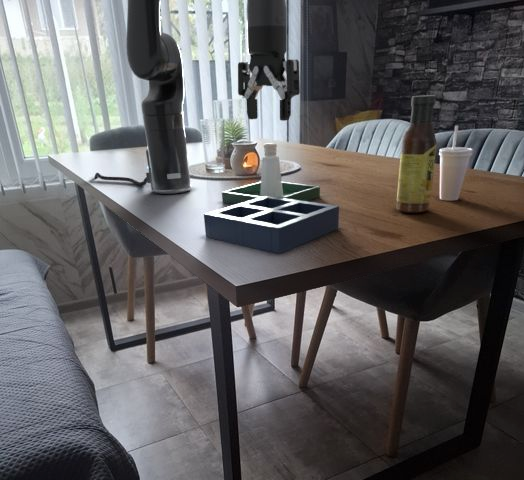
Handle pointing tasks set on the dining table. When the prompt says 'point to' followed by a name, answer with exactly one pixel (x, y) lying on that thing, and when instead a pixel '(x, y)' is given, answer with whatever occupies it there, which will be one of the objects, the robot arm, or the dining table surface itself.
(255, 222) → the rack
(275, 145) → the pepper shaker
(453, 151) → the smoothie
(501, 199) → the dining table surface
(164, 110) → the robot arm
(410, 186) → the sauce bottle
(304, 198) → the tray
